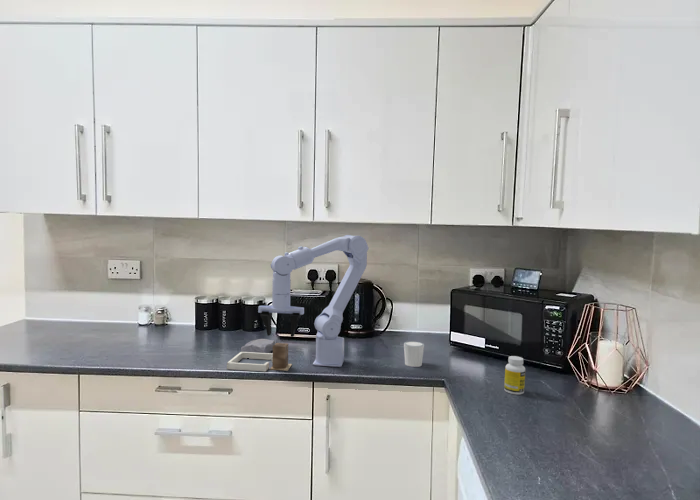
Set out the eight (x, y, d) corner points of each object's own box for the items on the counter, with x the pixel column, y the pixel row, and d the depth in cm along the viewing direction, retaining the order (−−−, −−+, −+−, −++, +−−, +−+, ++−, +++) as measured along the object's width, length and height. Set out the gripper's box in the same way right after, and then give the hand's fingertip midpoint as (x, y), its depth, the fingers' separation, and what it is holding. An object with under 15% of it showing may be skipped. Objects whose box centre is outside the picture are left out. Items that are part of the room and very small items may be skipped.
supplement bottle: (522, 396, 125) (523, 362, 124) (502, 392, 128) (503, 358, 127) (526, 390, 130) (527, 357, 129) (506, 386, 132) (508, 354, 132)
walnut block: (288, 364, 147) (288, 343, 146) (284, 368, 143) (285, 346, 142) (276, 363, 147) (276, 342, 147) (272, 367, 143) (272, 346, 143)
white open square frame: (276, 359, 153) (276, 353, 153) (265, 371, 141) (265, 365, 140) (240, 357, 154) (240, 351, 154) (226, 369, 142) (226, 362, 142)
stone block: (239, 360, 157) (266, 356, 156) (237, 346, 157) (263, 343, 156) (252, 352, 169) (277, 348, 167) (250, 339, 169) (275, 336, 167)
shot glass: (411, 359, 156) (412, 340, 156) (427, 364, 152) (428, 344, 151) (399, 363, 152) (399, 343, 151) (415, 368, 147) (416, 347, 146)
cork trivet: (291, 365, 147) (291, 364, 147) (287, 370, 142) (287, 369, 142) (275, 364, 148) (275, 363, 148) (270, 369, 142) (270, 368, 142)
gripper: (306, 292, 147) (305, 333, 148) (263, 290, 148) (262, 331, 149) (301, 295, 140) (300, 339, 141) (256, 293, 141) (255, 336, 142)
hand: (280, 335), depth 144 cm, fingers open, 7 cm apart
